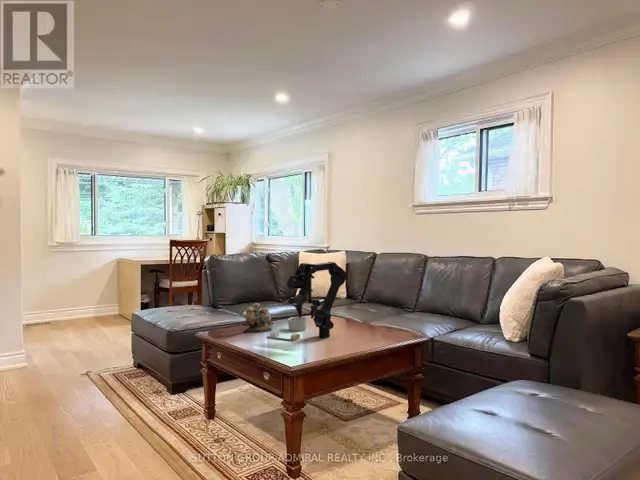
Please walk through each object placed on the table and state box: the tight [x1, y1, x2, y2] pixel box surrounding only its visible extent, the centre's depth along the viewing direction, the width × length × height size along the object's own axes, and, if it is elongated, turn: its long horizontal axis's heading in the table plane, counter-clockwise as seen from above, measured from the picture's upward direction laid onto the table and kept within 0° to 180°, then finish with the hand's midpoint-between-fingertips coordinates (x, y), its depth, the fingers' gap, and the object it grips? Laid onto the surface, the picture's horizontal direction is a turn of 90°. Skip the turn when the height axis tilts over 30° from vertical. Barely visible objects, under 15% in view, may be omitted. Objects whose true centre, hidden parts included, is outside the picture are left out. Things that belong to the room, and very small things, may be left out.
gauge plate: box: [266, 335, 294, 342], centre depth 236 cm, size 14×19×2 cm
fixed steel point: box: [269, 331, 280, 338], centre depth 237 cm, size 6×3×2 cm, turn 151°
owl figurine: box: [242, 302, 274, 334], centre depth 254 cm, size 18×12×17 cm, turn 120°
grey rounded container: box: [287, 316, 308, 332], centre depth 257 cm, size 14×11×8 cm
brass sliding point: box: [289, 333, 301, 342], centre depth 231 cm, size 5×3×2 cm, turn 151°
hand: (306, 318), depth 229 cm, fingers open, 7 cm apart
